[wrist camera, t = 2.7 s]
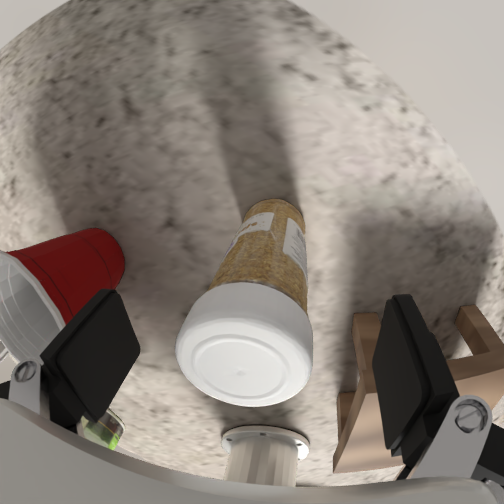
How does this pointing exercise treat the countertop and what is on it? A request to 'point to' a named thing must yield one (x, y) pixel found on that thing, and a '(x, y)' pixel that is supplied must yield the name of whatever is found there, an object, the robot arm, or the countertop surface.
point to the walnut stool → (366, 399)
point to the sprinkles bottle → (253, 314)
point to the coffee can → (104, 430)
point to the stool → (3, 352)
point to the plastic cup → (53, 287)
